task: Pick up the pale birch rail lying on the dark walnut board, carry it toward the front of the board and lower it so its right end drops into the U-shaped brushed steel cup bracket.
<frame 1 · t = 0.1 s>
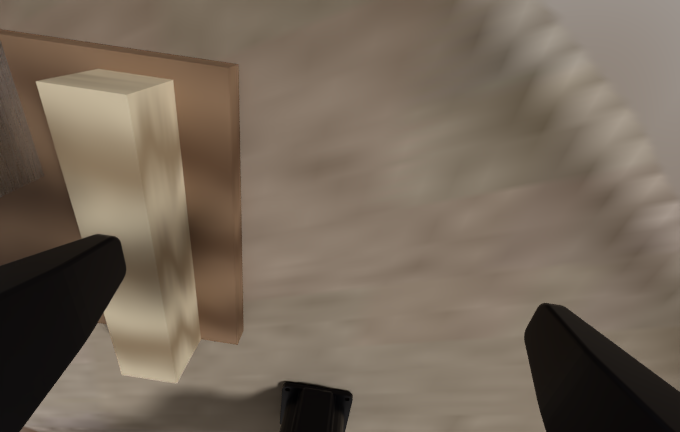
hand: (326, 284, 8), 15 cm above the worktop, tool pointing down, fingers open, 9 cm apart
rail: (160, 232, 24), point 1 cm above the worktop, touching mounting board
mounting board: (93, 203, 25), on the worktop
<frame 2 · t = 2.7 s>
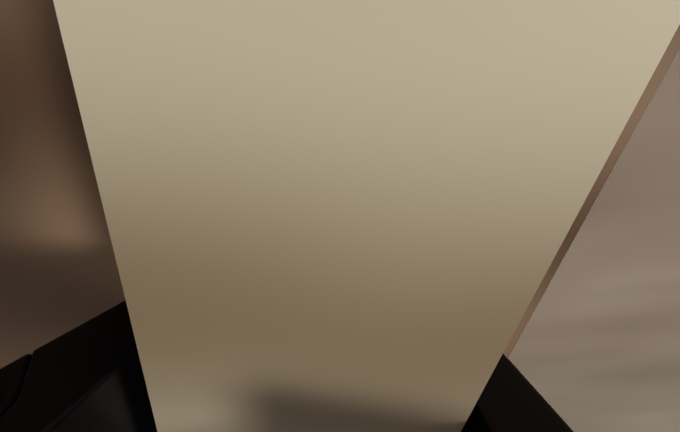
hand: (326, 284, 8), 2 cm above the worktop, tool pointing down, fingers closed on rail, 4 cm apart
rail: (341, 184, 7), point 1 cm above the worktop, touching gripper, mounting board
mounting board: (120, 104, 8), on the worktop
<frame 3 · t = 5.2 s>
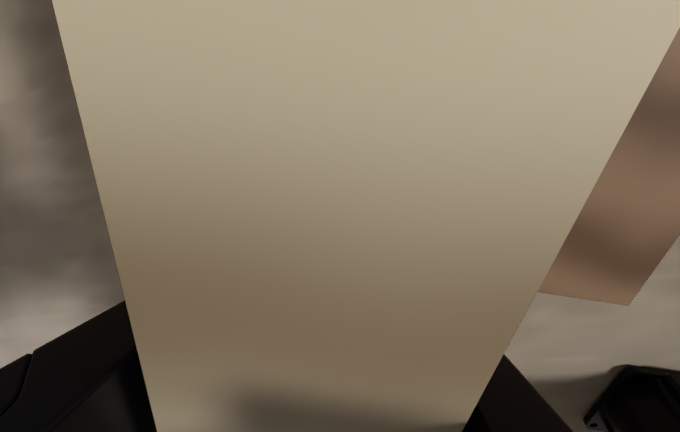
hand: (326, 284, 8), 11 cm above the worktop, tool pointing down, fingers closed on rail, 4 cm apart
rail: (341, 182, 7), point 10 cm above the worktop, touching gripper
mounting board: (490, 64, 15), on the worktop
when the fingers open (3 cm above the worktop, at t = 7.7 s): rail drops 1 cm, resting on mounting board.
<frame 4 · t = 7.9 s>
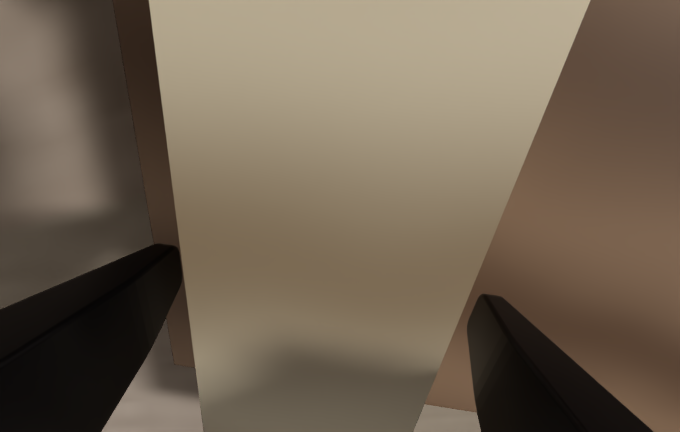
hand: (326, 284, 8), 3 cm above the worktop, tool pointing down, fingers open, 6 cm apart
rail: (345, 163, 8), point 1 cm above the worktop, touching mounting board
mounting board: (585, 97, 9), on the worktop
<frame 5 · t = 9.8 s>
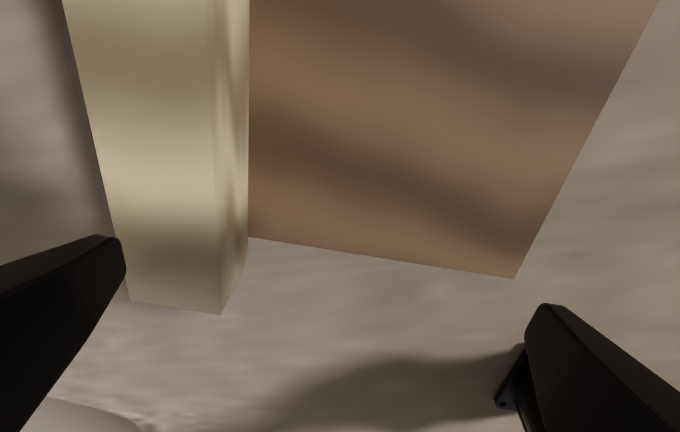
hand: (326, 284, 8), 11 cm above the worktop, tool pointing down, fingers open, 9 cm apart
rail: (198, 50, 14), point 1 cm above the worktop, touching mounting board
mounting board: (346, 14, 14), on the worktop
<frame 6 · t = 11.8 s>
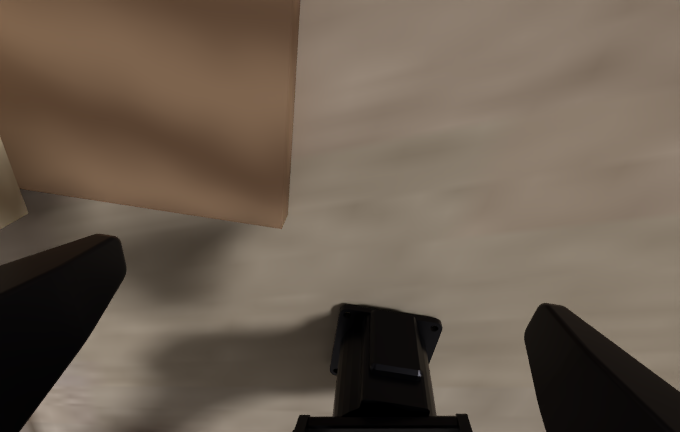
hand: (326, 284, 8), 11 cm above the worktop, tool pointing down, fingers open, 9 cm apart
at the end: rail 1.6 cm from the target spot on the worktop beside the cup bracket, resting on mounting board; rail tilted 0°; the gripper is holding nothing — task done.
